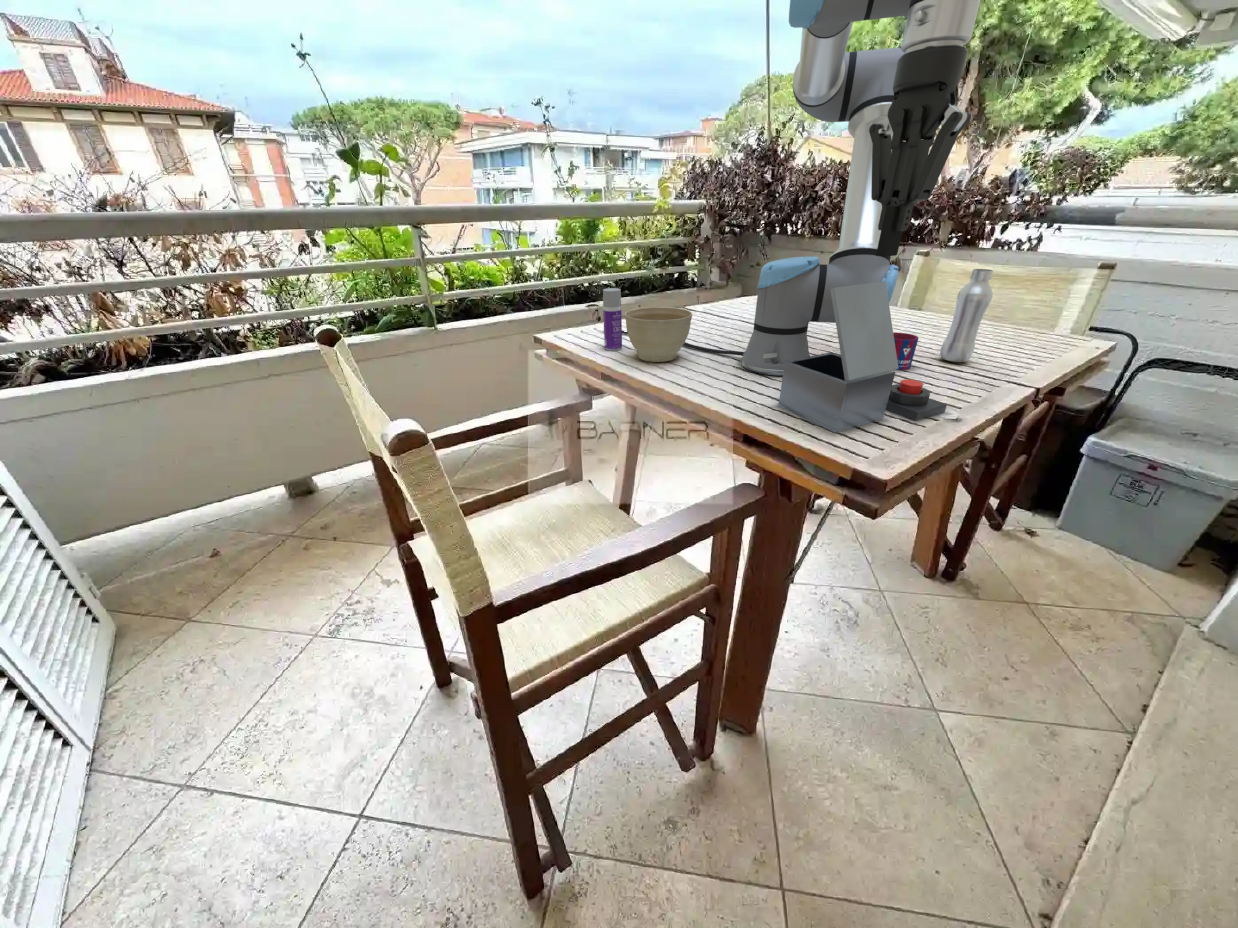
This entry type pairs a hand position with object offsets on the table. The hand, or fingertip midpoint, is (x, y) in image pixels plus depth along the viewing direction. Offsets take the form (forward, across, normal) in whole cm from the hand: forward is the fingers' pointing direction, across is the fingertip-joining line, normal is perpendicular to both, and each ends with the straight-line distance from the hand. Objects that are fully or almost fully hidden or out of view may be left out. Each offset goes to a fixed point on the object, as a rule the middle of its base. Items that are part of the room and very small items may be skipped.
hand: (886, 255), depth 71 cm
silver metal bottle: (+27, -12, +49) cm, 57 cm away
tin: (+27, -4, 0) cm, 27 cm away
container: (+27, -64, -15) cm, 71 cm away
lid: (+11, -1, 0) cm, 11 cm away
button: (+24, +1, +14) cm, 28 cm away
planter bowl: (+27, -50, -9) cm, 58 cm away
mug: (+27, -18, +35) cm, 48 cm away
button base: (+27, +1, +14) cm, 30 cm away
